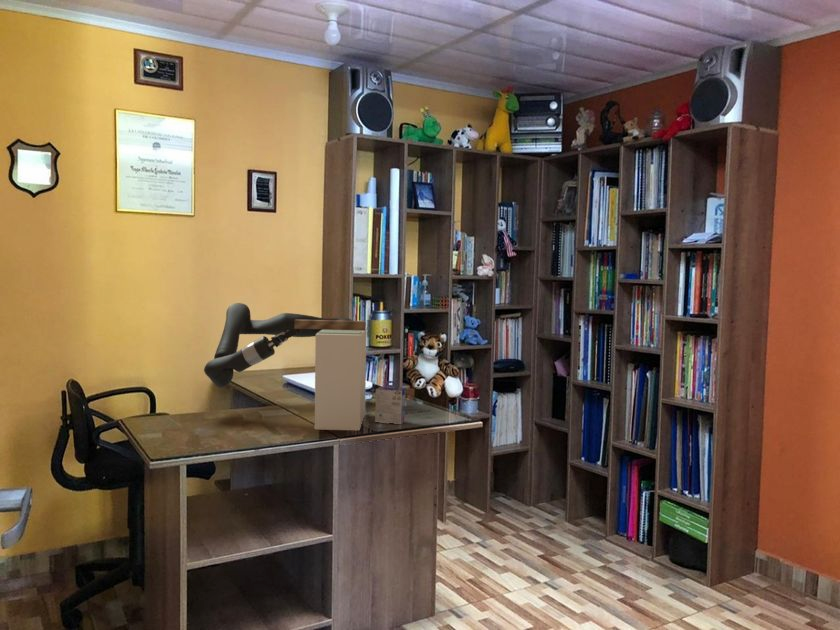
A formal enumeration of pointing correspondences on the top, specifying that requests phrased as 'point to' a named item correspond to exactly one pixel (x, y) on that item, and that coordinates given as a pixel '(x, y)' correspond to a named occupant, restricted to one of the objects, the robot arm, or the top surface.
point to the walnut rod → (329, 324)
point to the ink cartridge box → (390, 404)
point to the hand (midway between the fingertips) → (297, 329)
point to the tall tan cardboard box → (340, 379)
